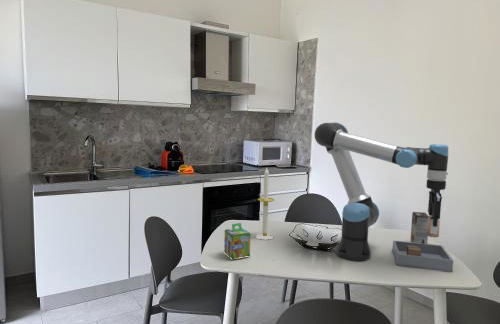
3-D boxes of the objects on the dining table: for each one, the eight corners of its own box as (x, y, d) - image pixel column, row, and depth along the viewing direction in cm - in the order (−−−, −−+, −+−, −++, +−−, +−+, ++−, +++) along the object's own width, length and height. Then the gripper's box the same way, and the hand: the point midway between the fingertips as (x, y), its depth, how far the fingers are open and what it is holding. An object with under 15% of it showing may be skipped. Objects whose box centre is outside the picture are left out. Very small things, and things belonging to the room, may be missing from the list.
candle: (257, 233, 201) (258, 165, 196) (275, 235, 199) (277, 166, 194) (253, 239, 191) (255, 167, 187) (272, 241, 189) (275, 168, 185)
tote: (397, 265, 160) (397, 254, 160) (392, 250, 179) (393, 240, 179) (452, 271, 155) (453, 260, 154) (441, 255, 174) (442, 245, 173)
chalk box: (231, 261, 161) (232, 227, 160) (223, 254, 169) (224, 222, 168) (250, 257, 166) (251, 225, 164) (241, 251, 174) (242, 220, 172)
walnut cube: (420, 261, 165) (420, 250, 164) (408, 259, 166) (408, 248, 165) (418, 257, 169) (418, 246, 169) (406, 255, 171) (407, 245, 170)
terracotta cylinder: (440, 237, 161) (441, 222, 161) (427, 236, 163) (428, 221, 162) (437, 234, 166) (438, 219, 165) (425, 233, 168) (426, 218, 167)
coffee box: (409, 241, 193) (412, 211, 191) (422, 242, 192) (425, 212, 190) (413, 247, 184) (416, 215, 183) (427, 248, 183) (430, 216, 181)
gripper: (451, 183, 152) (446, 238, 155) (441, 177, 169) (437, 226, 172) (431, 182, 154) (427, 236, 157) (423, 176, 171) (419, 225, 174)
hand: (432, 231), depth 164 cm, fingers closed on terracotta cylinder, 5 cm apart
